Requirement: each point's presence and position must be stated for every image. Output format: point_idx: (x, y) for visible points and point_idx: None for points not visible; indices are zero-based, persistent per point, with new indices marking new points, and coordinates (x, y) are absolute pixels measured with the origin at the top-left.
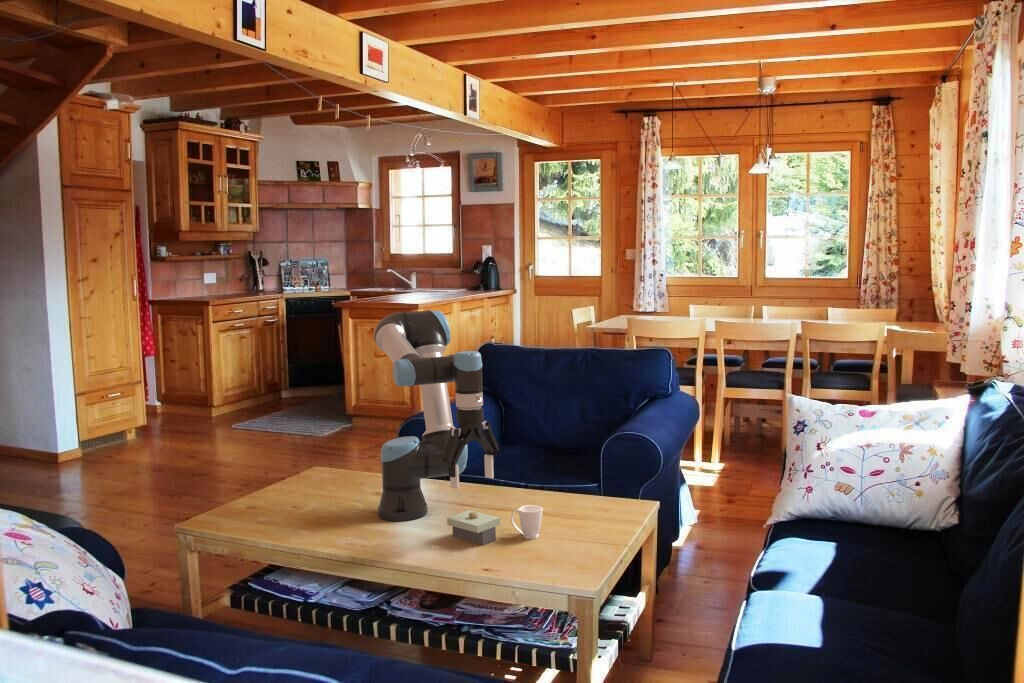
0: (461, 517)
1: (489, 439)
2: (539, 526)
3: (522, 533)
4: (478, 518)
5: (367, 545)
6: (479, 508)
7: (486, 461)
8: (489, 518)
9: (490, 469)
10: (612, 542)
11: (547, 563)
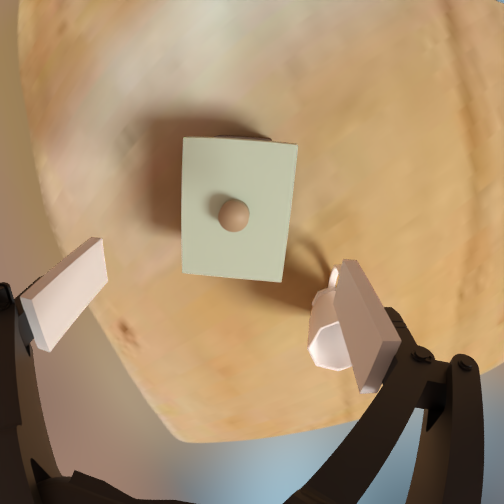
0: (214, 176)
1: (427, 469)
2: (333, 337)
3: (330, 282)
4: (238, 232)
5: (66, 31)
6: (451, 60)
7: (363, 327)
8: (257, 260)
9: (343, 325)
10: (355, 408)
11: (214, 388)
